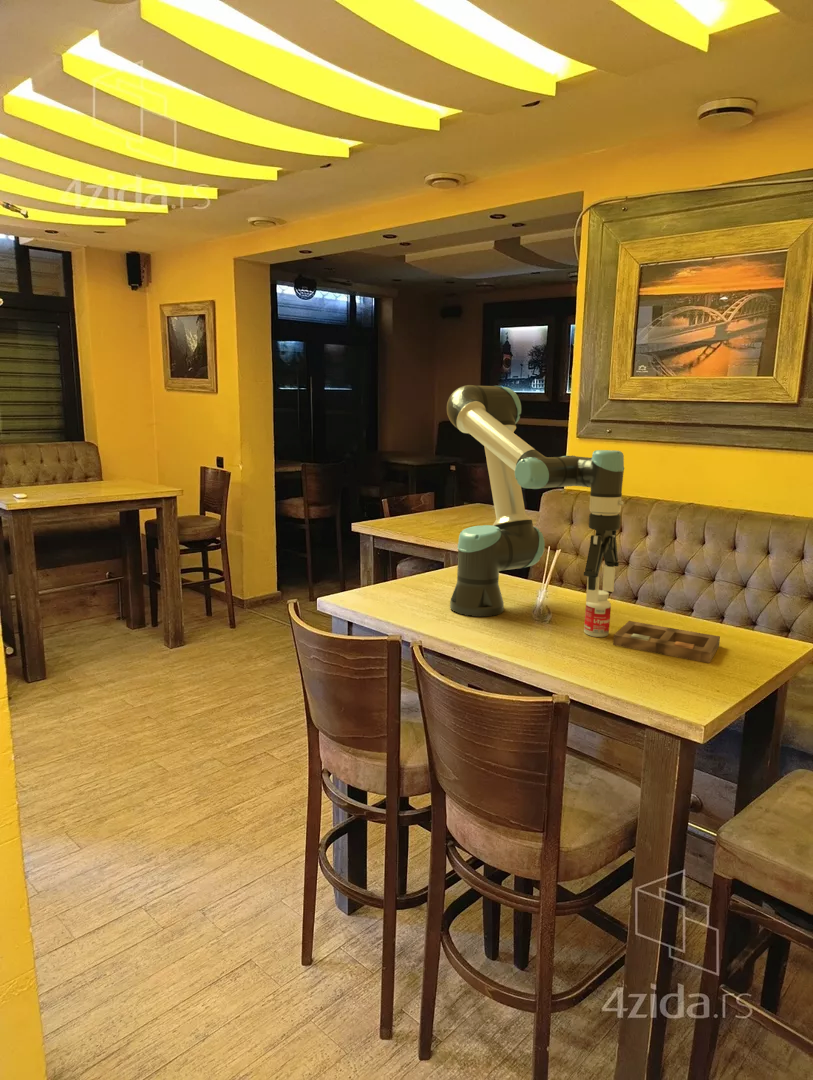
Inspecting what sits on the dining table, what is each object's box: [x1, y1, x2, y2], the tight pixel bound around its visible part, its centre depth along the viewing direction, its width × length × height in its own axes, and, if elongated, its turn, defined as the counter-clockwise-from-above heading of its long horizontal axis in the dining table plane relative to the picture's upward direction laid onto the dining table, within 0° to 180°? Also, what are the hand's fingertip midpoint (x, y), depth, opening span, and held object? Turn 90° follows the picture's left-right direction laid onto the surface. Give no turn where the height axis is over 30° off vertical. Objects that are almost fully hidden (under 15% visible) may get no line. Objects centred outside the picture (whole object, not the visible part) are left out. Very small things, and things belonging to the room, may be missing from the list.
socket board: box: [612, 620, 721, 664], centre depth 171 cm, size 22×14×3 cm, turn 58°
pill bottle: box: [583, 589, 612, 638], centre depth 178 cm, size 6×6×11 cm
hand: (600, 596), depth 177 cm, fingers open, 13 cm apart
